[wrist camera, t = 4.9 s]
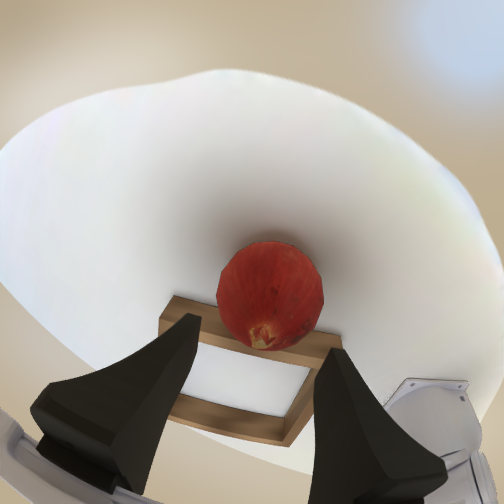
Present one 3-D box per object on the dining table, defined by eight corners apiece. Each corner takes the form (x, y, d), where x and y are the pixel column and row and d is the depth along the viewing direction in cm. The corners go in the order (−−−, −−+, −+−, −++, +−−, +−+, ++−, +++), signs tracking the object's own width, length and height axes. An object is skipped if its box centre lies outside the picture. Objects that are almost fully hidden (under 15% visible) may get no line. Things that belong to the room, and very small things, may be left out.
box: (340, 336, 21) (345, 363, 18) (290, 424, 26) (288, 447, 23) (173, 295, 21) (158, 318, 18) (168, 395, 26) (159, 416, 24)
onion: (335, 260, 18) (359, 340, 11) (280, 316, 21) (273, 404, 13) (265, 205, 18) (248, 260, 10) (214, 270, 20) (175, 347, 12)
